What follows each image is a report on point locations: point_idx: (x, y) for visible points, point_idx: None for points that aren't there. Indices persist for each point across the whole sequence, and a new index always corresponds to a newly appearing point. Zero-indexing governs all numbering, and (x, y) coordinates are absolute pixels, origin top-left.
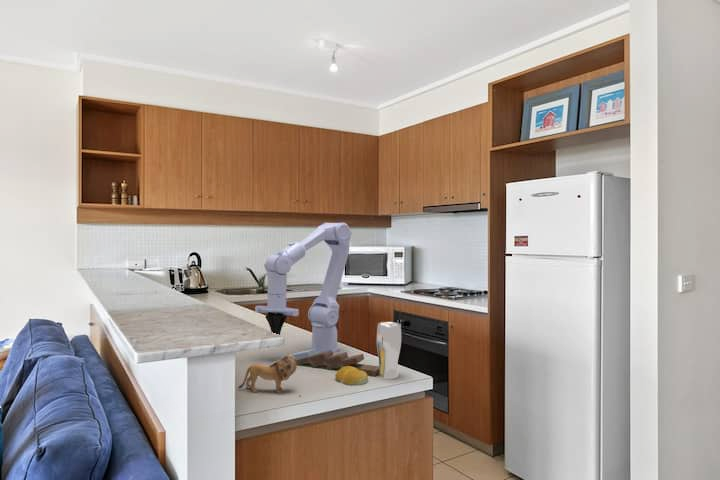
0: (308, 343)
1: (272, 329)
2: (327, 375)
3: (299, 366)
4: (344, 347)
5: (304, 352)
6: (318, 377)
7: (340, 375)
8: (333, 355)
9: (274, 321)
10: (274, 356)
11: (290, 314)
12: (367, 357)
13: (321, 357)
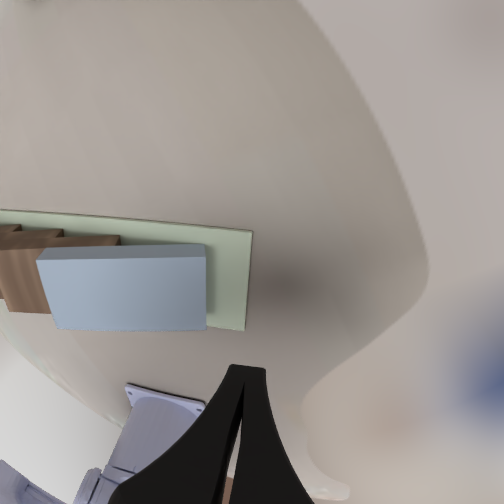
0: None
1: (252, 417)
2: (5, 175)
3: (104, 225)
4: None
5: (53, 263)
6: (11, 139)
7: None
8: None
9: (196, 479)
10: (303, 348)
11: (49, 501)
12: (52, 375)
13: (7, 244)
